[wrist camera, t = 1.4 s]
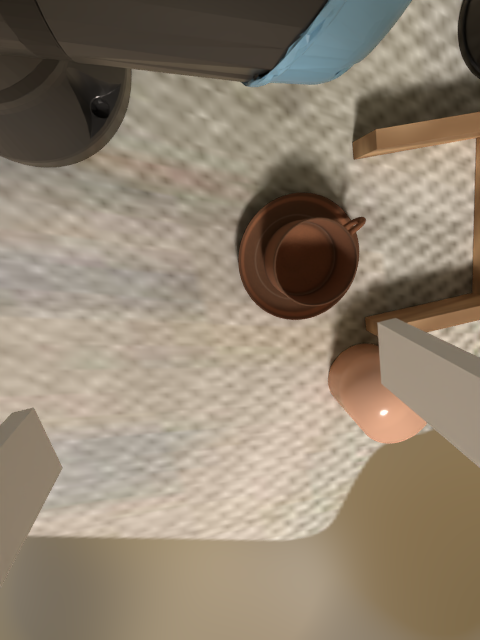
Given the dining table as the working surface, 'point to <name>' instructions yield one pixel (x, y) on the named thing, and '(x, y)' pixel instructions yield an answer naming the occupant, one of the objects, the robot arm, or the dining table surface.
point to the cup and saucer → (299, 255)
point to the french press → (470, 35)
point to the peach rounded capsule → (371, 396)
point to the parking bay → (458, 129)
